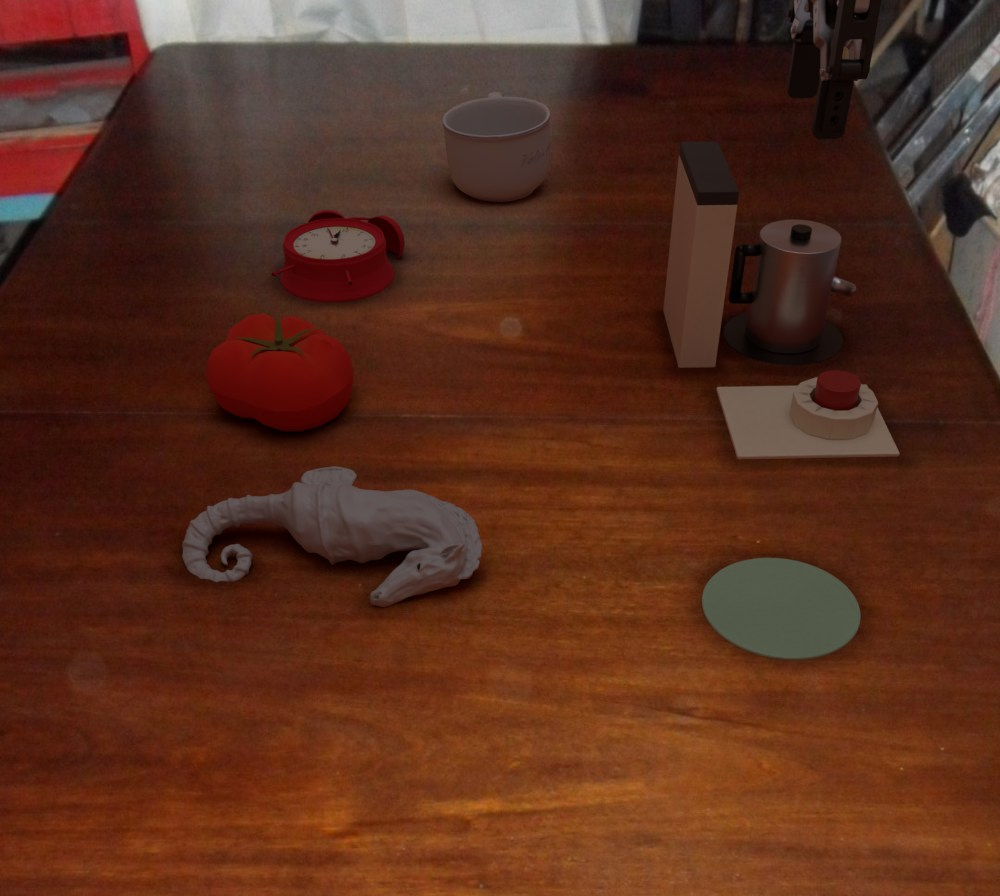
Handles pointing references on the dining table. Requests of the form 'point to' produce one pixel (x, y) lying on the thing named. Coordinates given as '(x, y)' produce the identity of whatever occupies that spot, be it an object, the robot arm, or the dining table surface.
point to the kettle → (789, 284)
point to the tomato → (281, 373)
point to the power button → (837, 390)
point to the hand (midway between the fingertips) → (813, 116)
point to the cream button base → (802, 424)
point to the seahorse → (349, 532)
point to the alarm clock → (340, 257)
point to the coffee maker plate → (822, 352)
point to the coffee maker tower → (699, 252)
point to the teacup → (498, 146)
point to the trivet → (781, 609)
